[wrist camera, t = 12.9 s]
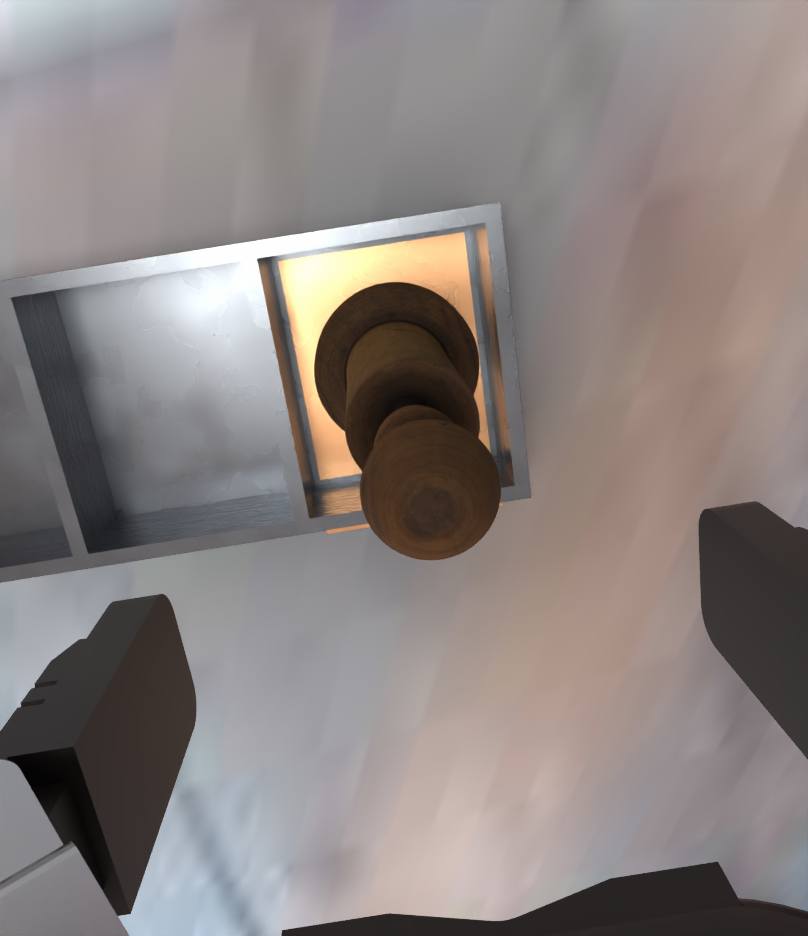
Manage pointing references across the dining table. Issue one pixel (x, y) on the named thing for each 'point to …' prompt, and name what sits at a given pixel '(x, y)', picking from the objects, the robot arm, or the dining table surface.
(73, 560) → the rack
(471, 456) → the brown turned rounded post
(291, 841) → the dining table surface
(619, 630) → the dining table surface
